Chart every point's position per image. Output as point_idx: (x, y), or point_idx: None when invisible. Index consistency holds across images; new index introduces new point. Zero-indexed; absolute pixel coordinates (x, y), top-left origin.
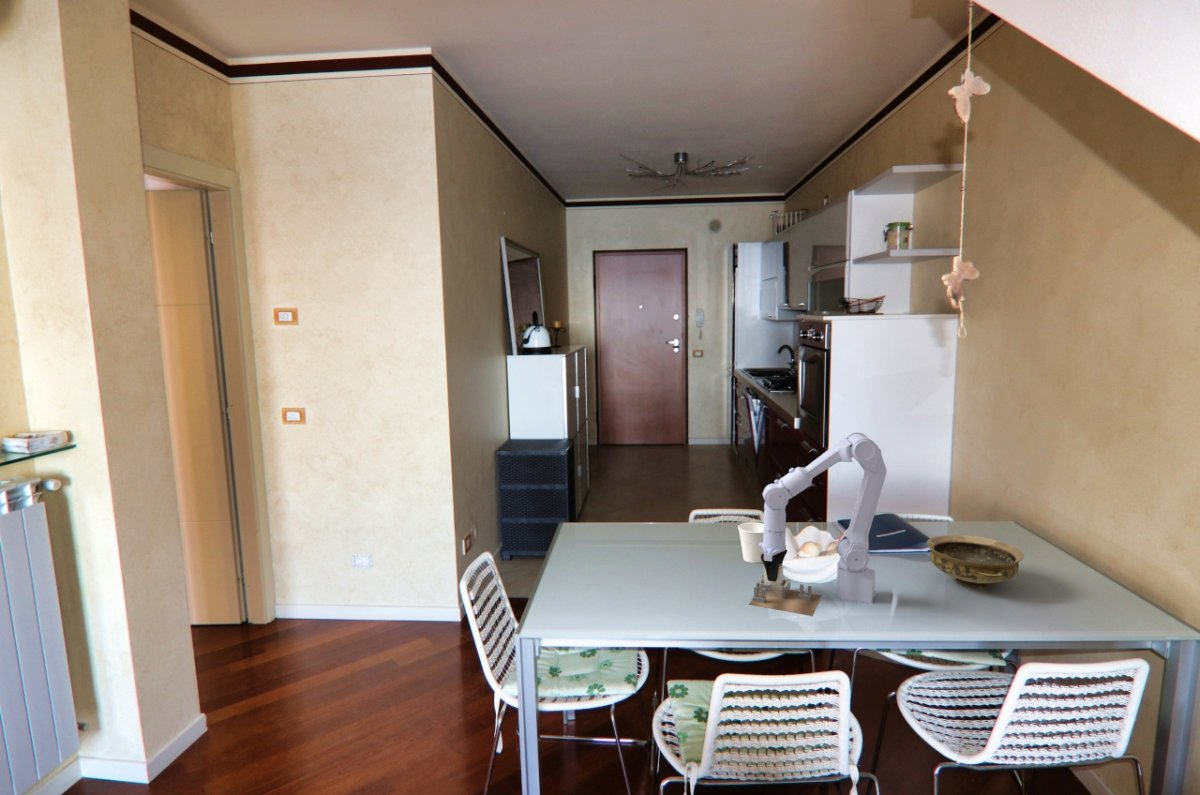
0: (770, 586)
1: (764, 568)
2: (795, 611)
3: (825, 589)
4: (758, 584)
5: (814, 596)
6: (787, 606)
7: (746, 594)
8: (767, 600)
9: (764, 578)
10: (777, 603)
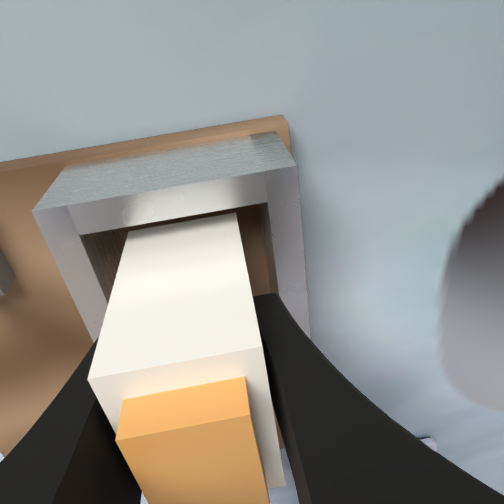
0: (90, 325)
1: (91, 381)
2: (14, 443)
3: (435, 397)
4: (42, 228)
5: (277, 429)
6: (41, 397)
7: (73, 44)
8: (20, 284)
9: (115, 287)
10: (32, 346)
